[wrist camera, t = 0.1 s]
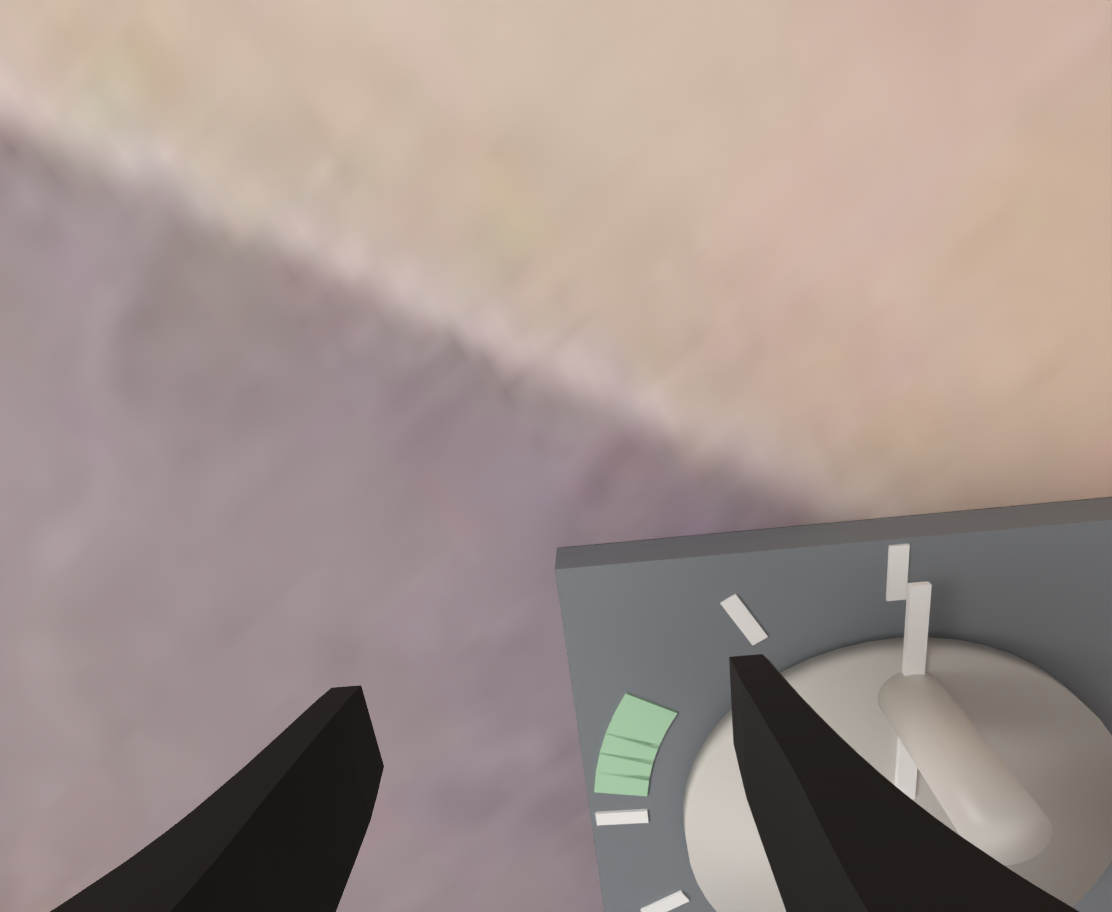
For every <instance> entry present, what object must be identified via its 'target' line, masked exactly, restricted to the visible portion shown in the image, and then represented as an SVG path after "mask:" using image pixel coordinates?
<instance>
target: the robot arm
mask: <svg viewBox="0 0 1112 912" xmlns="http://www.w3.org/2000/svg"><path fill="white" fill-rule="evenodd" d="M729 666H730V686H731V706H732V726H733V744H734V748H735V752H736V757H737V761H738V765H739V770H740V774H741V778H742V782H743V786H744V790H745V794H746V798H747V801H748V804H749V807H750V810H751V813H752V816H753V819H754V821H755V824H756V827H757V830H758V833H759V836H760V839H761V841H762V844H763V847H764V850H765V853H766V856H767V858H768V861H769V864H770V867H771V870H772V873H773V875H774V878H775V881H776V884H777V887H778V890H779V892H780V895H781V898H782V901H783V904H784V907H785V909H786V912H1079V911H1077V910H1076V909H1074V908H1072V907H1071V906H1069V905H1067V904H1066V903H1064V902H1062V901H1061V900H1059V899H1057V898H1056V897H1054V896H1052V895H1051V894H1049V893H1047V892H1046V891H1044V890H1042V889H1041V888H1039V887H1037V886H1036V885H1034V884H1032V883H1031V882H1029V881H1028V880H1026V879H1024V878H1023V877H1021V876H1020V875H1018V874H1017V873H1015V872H1013V871H1012V870H1010V869H1009V868H1007V867H1006V866H1004V865H1003V864H1001V863H1000V862H998V861H997V860H995V859H994V858H992V857H991V856H990V855H988V854H987V853H985V852H984V851H982V850H981V849H979V848H978V847H976V846H975V845H973V844H972V843H970V842H969V841H967V840H966V839H964V838H963V837H961V836H960V835H958V834H957V833H956V832H954V831H953V830H951V829H950V828H949V827H947V826H946V825H945V824H943V823H942V822H941V821H939V820H938V819H936V818H935V817H934V816H932V815H931V814H930V813H929V812H927V811H926V810H925V809H924V808H922V807H921V806H920V805H918V804H917V803H916V802H915V801H913V800H912V799H911V798H909V797H908V796H907V795H906V794H905V793H903V792H902V791H901V790H900V789H898V788H897V787H896V786H895V785H894V784H892V783H891V782H890V781H889V780H888V779H887V778H885V777H884V776H883V775H882V774H881V773H880V772H878V771H877V770H876V769H875V768H874V767H873V766H872V765H871V764H870V763H868V762H867V761H866V760H865V759H864V758H863V757H862V756H861V755H859V754H858V753H857V752H856V751H855V750H854V749H853V748H852V747H851V746H850V745H849V744H848V743H847V742H846V741H845V740H843V739H842V738H841V737H840V736H839V735H838V734H837V733H836V732H835V731H834V730H833V729H832V728H831V727H830V726H829V725H828V724H827V723H826V722H825V721H824V720H823V719H822V718H821V717H820V716H819V715H818V714H817V713H816V712H815V711H814V710H813V709H812V708H811V707H810V705H809V704H808V703H807V702H806V701H805V700H804V699H803V698H802V697H801V696H800V695H799V694H798V693H797V692H796V690H795V689H794V688H793V687H792V686H791V685H790V684H789V683H788V682H787V680H786V679H785V678H784V677H783V676H782V675H781V674H780V672H779V671H778V670H777V669H776V668H775V667H774V665H773V664H772V663H771V662H770V661H769V659H767V658H766V657H765V656H764V655H763V654H758V655H745V656H732V657H729ZM383 767H384V765H383V762H382V758H381V755H380V751H379V747H378V744H377V740H376V737H375V733H374V730H373V726H372V723H371V719H370V716H369V712H368V709H367V705H366V701H365V698H364V694H363V691H362V687H361V686H349V687H336V688H331V689H330V690H329V691H327V692H326V693H325V694H324V695H323V696H321V697H320V698H319V699H318V700H317V701H316V702H315V703H314V704H312V705H311V706H310V707H309V708H308V709H307V710H306V711H305V712H304V713H303V714H302V715H300V716H299V717H298V718H297V719H296V720H295V721H294V722H293V723H292V724H291V725H290V726H289V727H288V728H286V729H285V730H284V731H283V732H282V733H281V734H280V735H279V736H278V737H277V738H276V739H274V740H273V741H272V742H271V743H270V744H269V745H268V746H267V747H266V748H265V749H264V750H262V751H261V752H260V753H259V754H258V755H257V756H256V757H255V758H254V759H253V760H251V761H250V762H249V763H248V764H247V765H246V766H245V767H244V768H243V769H241V770H240V771H239V772H238V773H237V774H236V775H234V776H233V777H232V778H231V779H230V780H228V781H227V782H226V783H225V784H224V785H223V786H221V787H220V788H219V789H218V790H217V791H216V792H214V793H213V794H212V795H211V796H210V797H208V798H207V799H206V800H205V801H204V802H203V803H201V804H200V805H199V806H198V807H197V808H196V809H194V810H193V811H192V812H191V813H189V814H188V815H187V816H186V817H184V818H183V819H182V820H181V821H179V822H178V823H177V824H175V825H174V826H173V827H172V828H170V829H169V830H168V831H166V832H165V833H164V834H162V835H161V836H160V837H158V838H157V839H156V840H154V841H153V842H152V843H150V844H149V845H148V846H146V847H145V848H144V849H142V850H141V851H140V852H138V853H137V854H135V855H134V856H133V857H131V858H130V859H128V860H127V861H126V862H124V863H123V864H121V865H120V866H118V867H117V868H115V869H114V870H112V871H111V872H109V873H108V874H106V875H105V876H103V877H102V878H100V879H99V880H97V881H96V882H94V883H93V884H91V885H90V886H88V887H87V888H85V889H84V890H82V891H81V892H79V893H78V894H76V895H75V896H73V897H72V898H70V899H69V900H67V901H66V902H64V903H63V904H61V905H60V906H58V907H57V908H55V909H54V910H52V911H50V912H336V910H337V907H338V904H339V902H340V899H341V897H342V894H343V891H344V889H345V886H346V884H347V881H348V878H349V876H350V873H351V871H352V868H353V865H354V863H355V860H356V857H357V855H358V852H359V850H360V847H361V844H362V842H363V839H364V836H365V834H366V831H367V828H368V825H369V823H370V820H371V816H372V812H373V808H374V805H375V801H376V797H377V793H378V789H379V785H380V780H381V776H382V772H383Z"/></svg>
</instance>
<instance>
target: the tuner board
mask: <svg viewBox="0 0 1112 912" xmlns="http://www.w3.org/2000/svg"><path fill="white" fill-rule="evenodd" d="M555 573H556V580H557V586H558V593H559V600H560V607H561V614H562V621H563V628H564V635H565V642H566V649H567V655H568V662H569V669H570V676H571V683H572V690H573V697H574V704H575V711H576V718H577V724H578V731H579V738H580V745H581V752H582V759H583V766H584V773H585V780H586V786H587V793H588V800H589V807H590V814H591V821H592V828H593V835H594V842H595V849H596V855H597V862H598V869H599V876H600V883H601V890H602V897H603V904H604V911H605V912H716V910H715V909H714V908H713V907H712V905H711V904H710V903H709V902H708V900H707V899H706V897H705V896H704V894H703V892H702V890H701V889H700V887H699V885H698V883H697V881H696V879H695V876H694V873H693V870H692V867H691V865H690V860H689V854H688V848H687V843H686V836H685V830H684V824H683V797H684V791H685V786H686V780H687V777H688V775H689V772H690V769H691V766H692V763H693V761H694V759H695V757H696V755H697V753H698V751H699V749H700V748H701V746H702V744H703V742H704V740H705V739H706V738H707V736H708V735H709V734H710V732H711V731H712V730H713V728H714V727H715V726H716V724H717V723H718V722H719V720H720V719H721V718H722V717H723V716H724V715H725V714H726V713H727V712H728V711H729V710H730V709H731V708H732V706H731V686H730V666H729V657H732V656H745V655H758V654H763V655H764V656H765V657H766V658H767V659H769V661H770V662H771V663H772V664H773V665H774V667H775V668H776V669H777V670H778V671H779V672H782V671H784V670H786V669H788V668H790V667H792V666H794V665H796V664H798V663H800V662H803V661H805V660H807V659H809V658H812V657H815V656H818V655H820V654H823V653H826V652H829V651H832V650H835V649H838V648H842V647H846V646H851V645H855V644H859V643H863V642H868V641H876V640H884V639H891V638H904V630H905V615H906V599H907V583H914V582H926V581H928V582H929V583H930V584H931V585H932V588H931V601H930V613H929V626H928V637H934V638H946V639H957V640H963V641H968V642H973V643H978V644H983V645H987V646H990V647H993V648H996V649H999V650H1002V651H1005V652H1008V653H1011V654H1014V655H1016V656H1018V657H1020V658H1022V659H1024V660H1026V661H1028V662H1030V663H1032V664H1035V665H1037V666H1038V667H1040V668H1041V669H1043V670H1044V671H1046V672H1047V673H1049V674H1050V675H1052V676H1053V677H1054V678H1056V679H1057V680H1059V681H1060V682H1061V683H1062V684H1063V685H1064V686H1065V687H1066V688H1067V689H1068V690H1070V691H1071V692H1072V693H1073V694H1074V695H1075V696H1076V697H1077V698H1078V699H1079V700H1080V701H1081V702H1082V703H1083V704H1084V705H1086V706H1087V707H1088V708H1089V709H1090V710H1091V711H1092V712H1093V713H1094V714H1095V715H1096V716H1097V717H1098V718H1099V719H1100V720H1101V722H1102V723H1103V724H1104V726H1105V727H1106V728H1107V730H1108V731H1109V732H1110V734H1111V735H1112V497H1107V498H1097V499H1086V500H1075V501H1064V502H1053V503H1042V504H1032V505H1021V506H1010V507H999V508H988V509H977V510H966V511H956V512H945V513H934V514H923V515H912V516H901V517H890V518H880V519H869V520H858V521H847V522H836V523H825V524H815V525H804V526H793V527H782V528H771V529H760V530H749V531H739V532H728V533H717V534H706V535H695V536H684V537H674V538H663V539H652V540H641V541H630V542H619V543H608V544H598V545H587V546H576V547H565V548H557V555H556V565H555ZM1072 908H1074V909H1076V910H1077V911H1079V912H1112V861H1111V863H1110V864H1109V866H1108V867H1107V869H1106V870H1105V871H1104V873H1103V874H1102V876H1101V877H1100V878H1099V880H1098V881H1097V883H1096V884H1095V885H1094V886H1093V887H1092V888H1091V889H1090V890H1089V891H1088V893H1087V894H1086V895H1085V896H1084V897H1083V898H1082V899H1081V900H1080V901H1079V902H1078V903H1077V904H1076V905H1074V906H1073V907H1072Z"/></svg>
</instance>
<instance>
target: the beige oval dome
mask: <svg viewBox="0 0 1112 912" xmlns="http://www.w3.org/2000/svg"><path fill="white" fill-rule="evenodd" d="M931 588H932V585H931V584H930V583H929V582H928V581H926V582H914V583H907V599H906V615H905V630H904V638H891V639H884V640H876V641H868V642H863V643H859V644H855V645H851V646H846V647H842V648H838V649H835V650H832V651H829V652H826V653H823V654H820V655H818V656H815V657H812V658H809V659H807V660H805V661H803V662H800V663H798V664H796V665H794V666H792V667H790V668H788V669H786V670H784V671H782V672H780V674H781V675H782V676H783V677H784V678H785V679H786V680H787V682H788V683H789V684H790V685H791V686H792V687H793V688H794V689H795V690H796V692H797V693H798V694H799V695H800V696H801V697H802V698H803V699H804V700H805V701H806V702H807V703H808V704H809V705H810V707H811V708H812V709H813V710H814V711H815V712H816V713H817V714H818V715H819V716H820V717H821V718H822V719H823V720H824V721H825V722H826V723H827V724H828V725H829V726H830V727H831V728H832V729H833V730H834V731H835V732H836V733H837V734H838V735H839V736H840V737H841V738H842V739H843V740H845V741H846V742H847V743H848V744H849V745H850V746H851V747H852V748H853V749H854V750H855V751H856V752H857V753H858V754H859V755H861V756H862V757H863V758H864V759H865V760H866V761H867V762H868V763H870V764H871V765H872V766H873V767H874V768H875V769H876V770H877V771H878V772H880V773H881V774H882V775H883V776H884V777H885V778H887V779H888V780H889V781H890V782H891V783H892V784H894V785H895V786H896V787H897V788H898V789H900V790H901V791H902V792H903V793H905V794H906V795H907V796H908V797H909V798H911V799H912V800H913V801H915V802H916V803H917V804H918V805H920V806H921V807H922V808H924V809H925V810H926V811H927V812H929V813H930V814H931V815H932V816H934V817H935V818H936V819H938V820H939V821H941V822H942V823H943V824H945V825H946V826H947V827H949V828H950V829H951V830H953V831H954V832H956V833H957V834H958V835H960V836H961V837H963V838H964V839H966V840H967V841H969V842H970V843H972V844H973V845H975V846H976V847H978V848H979V849H981V850H982V851H984V852H985V853H987V854H988V855H990V856H991V857H992V858H994V859H995V860H997V861H998V862H1000V863H1001V864H1003V865H1004V866H1006V867H1007V868H1009V869H1010V870H1012V871H1013V872H1015V873H1017V874H1018V875H1020V876H1021V877H1023V878H1024V879H1026V880H1028V881H1029V882H1031V883H1032V884H1034V885H1036V886H1037V887H1039V888H1041V889H1042V890H1044V891H1046V892H1047V893H1049V894H1051V895H1052V896H1054V897H1056V898H1057V899H1059V900H1061V901H1062V902H1064V903H1066V904H1067V905H1069V906H1071V907H1073V906H1074V905H1076V904H1077V903H1078V902H1079V901H1080V900H1081V899H1082V898H1083V897H1084V896H1085V895H1086V894H1087V893H1088V891H1089V890H1090V889H1091V888H1092V887H1093V886H1094V885H1095V884H1096V883H1097V881H1098V880H1099V878H1100V877H1101V876H1102V874H1103V873H1104V871H1105V870H1106V869H1107V867H1108V866H1109V864H1110V863H1111V861H1112V735H1111V734H1110V732H1109V731H1108V730H1107V728H1106V727H1105V726H1104V724H1103V723H1102V722H1101V720H1100V719H1099V718H1098V717H1097V716H1096V715H1095V714H1094V713H1093V712H1092V711H1091V710H1090V709H1089V708H1088V707H1087V706H1086V705H1084V704H1083V703H1082V702H1081V701H1080V700H1079V699H1078V698H1077V697H1076V696H1075V695H1074V694H1073V693H1072V692H1071V691H1070V690H1068V689H1067V688H1066V687H1065V686H1064V685H1063V684H1062V683H1061V682H1060V681H1059V680H1057V679H1056V678H1054V677H1053V676H1052V675H1050V674H1049V673H1047V672H1046V671H1044V670H1043V669H1041V668H1040V667H1038V666H1037V665H1035V664H1032V663H1030V662H1028V661H1026V660H1024V659H1022V658H1020V657H1018V656H1016V655H1014V654H1011V653H1008V652H1005V651H1002V650H999V649H996V648H993V647H990V646H987V645H983V644H978V643H973V642H968V641H963V640H957V639H946V638H934V637H928V626H929V613H930V601H931ZM683 824H684V830H685V836H686V843H687V848H688V854H689V860H690V865H691V867H692V870H693V873H694V876H695V879H696V881H697V883H698V885H699V887H700V889H701V890H702V892H703V894H704V896H705V897H706V899H707V900H708V902H709V903H710V904H711V905H712V907H713V908H714V909H715V910H716V912H786V909H785V907H784V904H783V901H782V898H781V895H780V892H779V890H778V887H777V884H776V881H775V878H774V875H773V873H772V870H771V867H770V864H769V861H768V858H767V856H766V853H765V850H764V847H763V844H762V841H761V839H760V836H759V833H758V830H757V827H756V824H755V821H754V819H753V816H752V813H751V810H750V807H749V804H748V801H747V798H746V794H745V790H744V786H743V782H742V778H741V774H740V770H739V765H738V761H737V757H736V752H735V748H734V744H733V726H732V708H731V709H730V710H729V711H728V712H727V713H726V714H725V715H724V716H723V717H722V718H721V719H720V720H719V722H718V723H717V724H716V726H715V727H714V728H713V730H712V731H711V732H710V734H709V735H708V736H707V738H706V739H705V740H704V742H703V744H702V746H701V748H700V749H699V751H698V753H697V755H696V757H695V759H694V761H693V763H692V766H691V769H690V772H689V775H688V777H687V780H686V786H685V791H684V797H683Z"/></svg>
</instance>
